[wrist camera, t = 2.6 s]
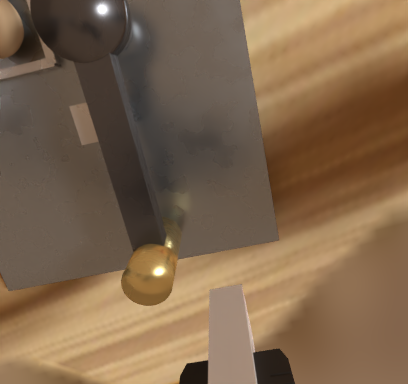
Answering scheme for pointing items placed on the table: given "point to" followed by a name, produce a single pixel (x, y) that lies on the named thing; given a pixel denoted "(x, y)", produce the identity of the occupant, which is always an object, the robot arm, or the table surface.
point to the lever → (114, 132)
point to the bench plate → (150, 139)
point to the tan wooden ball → (10, 30)
